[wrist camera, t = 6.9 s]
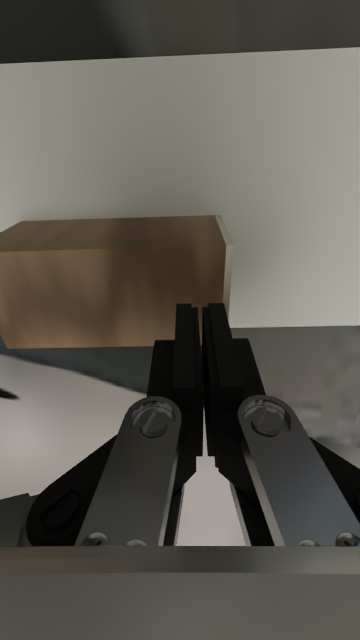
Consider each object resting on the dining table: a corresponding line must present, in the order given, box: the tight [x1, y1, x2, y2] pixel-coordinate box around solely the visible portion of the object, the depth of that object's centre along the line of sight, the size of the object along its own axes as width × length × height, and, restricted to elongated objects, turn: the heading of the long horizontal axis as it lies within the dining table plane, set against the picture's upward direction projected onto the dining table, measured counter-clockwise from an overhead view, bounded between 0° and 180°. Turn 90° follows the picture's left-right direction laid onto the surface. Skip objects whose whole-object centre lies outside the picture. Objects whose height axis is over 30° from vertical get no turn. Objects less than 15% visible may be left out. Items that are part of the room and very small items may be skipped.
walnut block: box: [0, 215, 234, 349], centre depth 15 cm, size 5×5×11 cm
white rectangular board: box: [0, 47, 360, 328], centre depth 16 cm, size 14×24×1 cm, turn 92°
